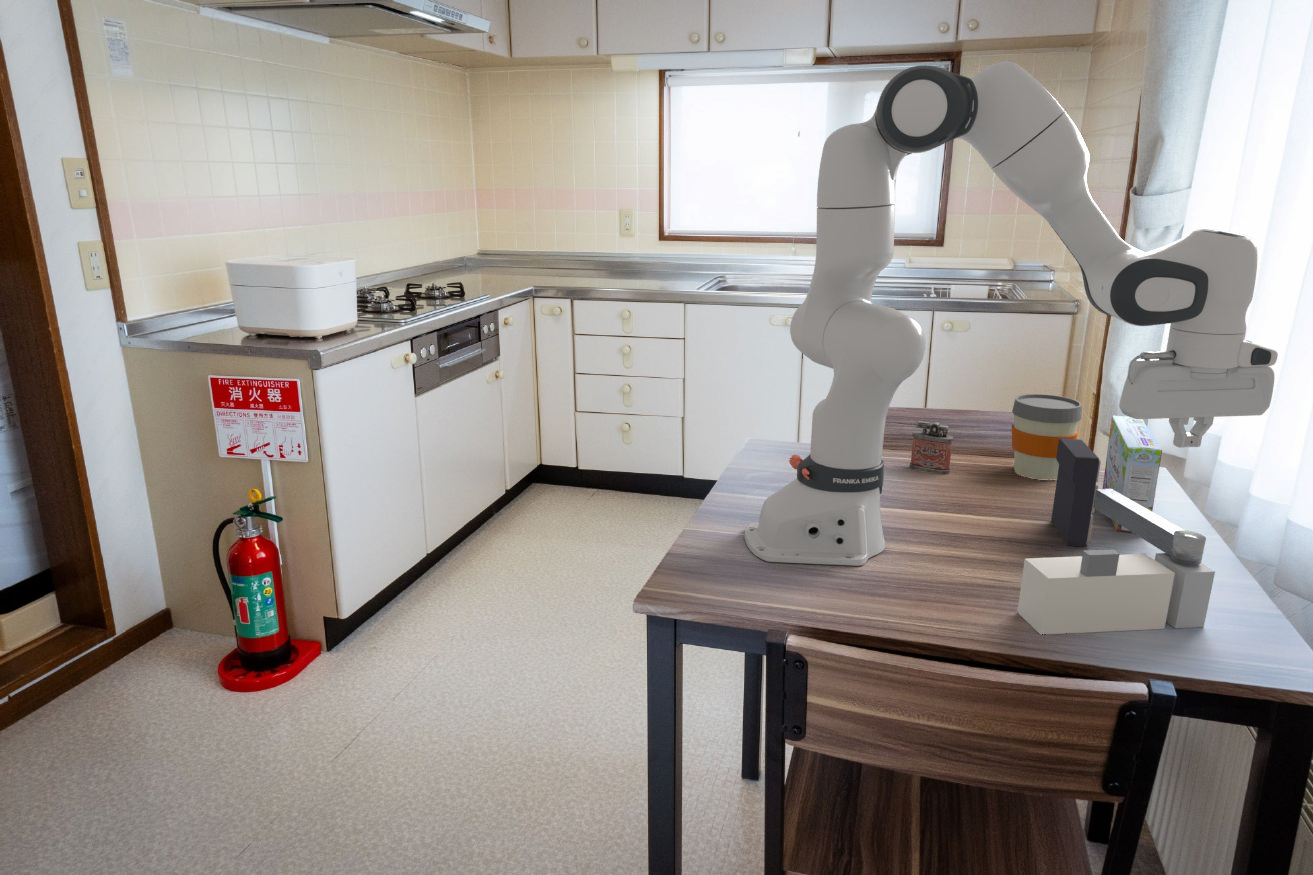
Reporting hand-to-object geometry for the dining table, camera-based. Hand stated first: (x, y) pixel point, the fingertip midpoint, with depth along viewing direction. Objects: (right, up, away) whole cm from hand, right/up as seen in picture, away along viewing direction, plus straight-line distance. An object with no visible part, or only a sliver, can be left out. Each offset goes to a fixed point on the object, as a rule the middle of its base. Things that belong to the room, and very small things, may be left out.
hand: (1186, 446), depth 122 cm
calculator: (-7, -15, +21) cm, 27 cm away
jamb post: (-6, -23, -6) cm, 24 cm away
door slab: (-17, -23, -7) cm, 30 cm away
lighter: (-20, -6, +53) cm, 57 cm away
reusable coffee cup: (+2, -6, +51) cm, 51 cm away
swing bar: (-6, -12, 0) cm, 14 cm away
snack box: (+8, -12, +31) cm, 34 cm away
